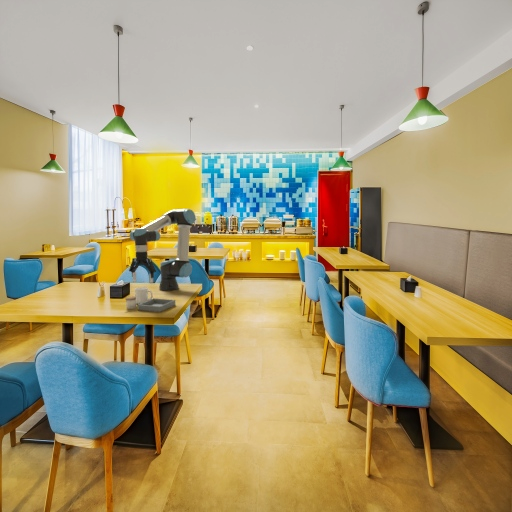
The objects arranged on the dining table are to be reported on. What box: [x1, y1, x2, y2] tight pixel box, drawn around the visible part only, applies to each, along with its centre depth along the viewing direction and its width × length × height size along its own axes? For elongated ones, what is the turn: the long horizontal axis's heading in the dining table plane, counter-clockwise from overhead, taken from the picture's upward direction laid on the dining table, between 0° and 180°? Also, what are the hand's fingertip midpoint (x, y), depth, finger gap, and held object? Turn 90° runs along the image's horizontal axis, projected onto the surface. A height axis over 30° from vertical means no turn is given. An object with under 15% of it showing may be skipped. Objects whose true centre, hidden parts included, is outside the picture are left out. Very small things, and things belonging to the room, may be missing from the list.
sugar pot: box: [125, 295, 138, 310], centre depth 207 cm, size 7×7×7 cm
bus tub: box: [137, 297, 176, 313], centre depth 207 cm, size 17×17×4 cm
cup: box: [134, 286, 153, 305], centre depth 219 cm, size 8×12×10 cm
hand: (143, 282), depth 218 cm, fingers open, 13 cm apart
